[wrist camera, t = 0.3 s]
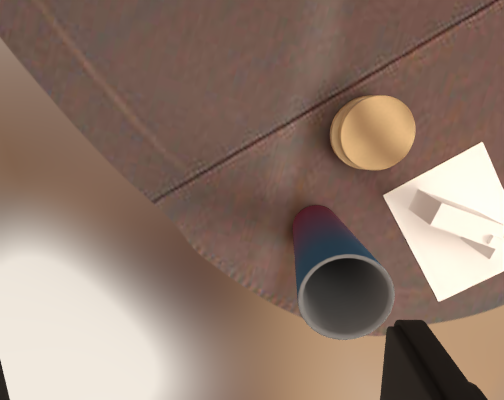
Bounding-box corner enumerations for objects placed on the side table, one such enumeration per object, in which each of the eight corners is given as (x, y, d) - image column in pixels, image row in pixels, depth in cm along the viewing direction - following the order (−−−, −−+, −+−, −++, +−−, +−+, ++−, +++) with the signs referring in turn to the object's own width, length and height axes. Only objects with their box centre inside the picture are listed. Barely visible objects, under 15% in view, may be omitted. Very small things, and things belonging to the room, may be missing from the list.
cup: (323, 184, 39) (360, 235, 25) (358, 232, 40) (413, 307, 26) (272, 221, 40) (278, 290, 26) (308, 266, 42) (333, 356, 27)
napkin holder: (381, 196, 39) (400, 212, 34) (481, 140, 37) (520, 147, 32) (439, 303, 42) (465, 333, 37) (534, 256, 41) (577, 281, 35)
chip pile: (364, 77, 36) (373, 75, 33) (418, 126, 37) (431, 128, 34) (313, 136, 38) (318, 140, 35) (366, 181, 39) (374, 188, 36)
